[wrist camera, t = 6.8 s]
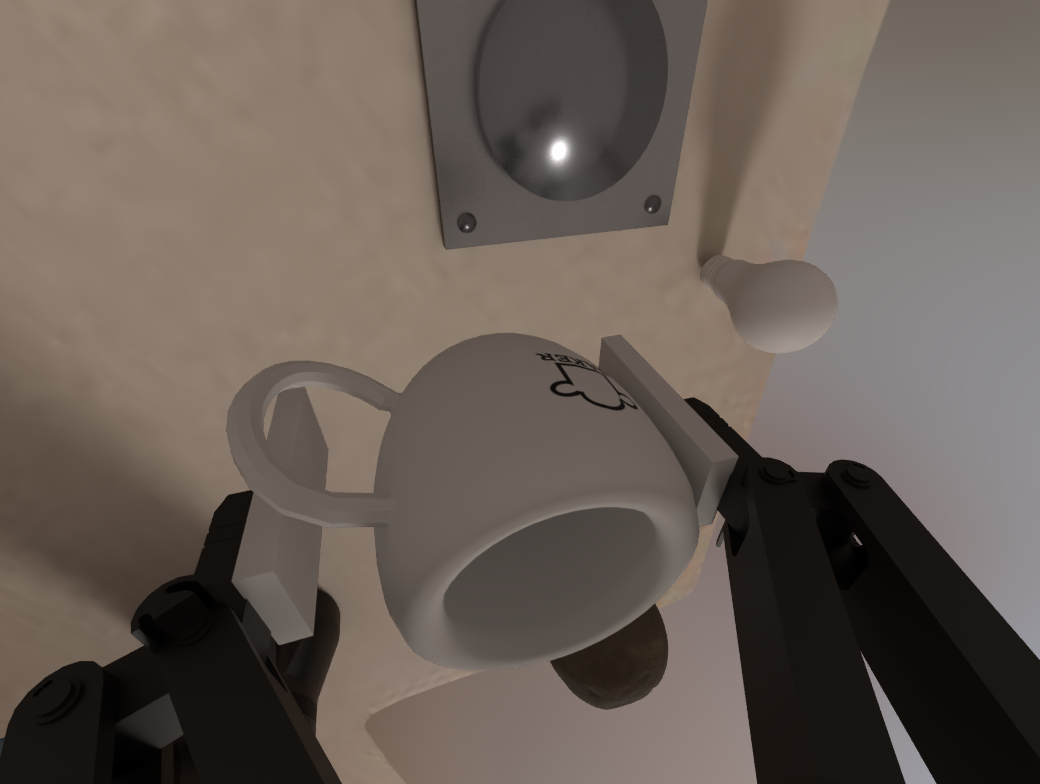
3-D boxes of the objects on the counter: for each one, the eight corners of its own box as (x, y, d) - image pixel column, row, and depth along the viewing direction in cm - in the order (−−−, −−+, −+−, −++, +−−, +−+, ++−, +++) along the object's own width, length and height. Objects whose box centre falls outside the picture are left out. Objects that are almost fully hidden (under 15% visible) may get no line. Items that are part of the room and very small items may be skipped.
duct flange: (443, 245, 29) (448, 255, 27) (400, -124, 19) (404, -141, 18) (661, 221, 32) (677, 229, 31) (715, -100, 23) (742, -112, 21)
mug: (634, 346, 17) (786, 502, 11) (525, 496, 20) (595, 679, 14) (301, 193, 11) (228, 349, 5) (225, 441, 14) (126, 713, 8)
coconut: (506, 605, 57) (546, 743, 45) (553, 532, 50) (612, 670, 39) (594, 601, 63) (648, 721, 51) (645, 535, 57) (720, 654, 45)
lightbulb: (754, 252, 36) (877, 308, 28) (702, 313, 38) (802, 382, 30) (713, 212, 33) (838, 261, 24) (659, 281, 35) (757, 348, 27)
